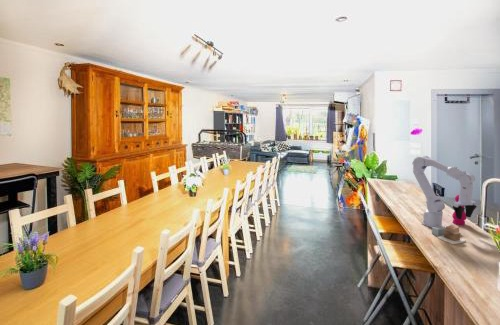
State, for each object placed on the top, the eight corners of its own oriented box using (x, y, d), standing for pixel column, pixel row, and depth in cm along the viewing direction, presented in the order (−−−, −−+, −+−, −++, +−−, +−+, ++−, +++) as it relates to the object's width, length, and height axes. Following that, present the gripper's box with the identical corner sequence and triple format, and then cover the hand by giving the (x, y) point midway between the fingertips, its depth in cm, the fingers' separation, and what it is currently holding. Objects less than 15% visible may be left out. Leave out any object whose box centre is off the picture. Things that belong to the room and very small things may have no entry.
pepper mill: (452, 220, 185) (454, 190, 182) (466, 223, 180) (468, 192, 177) (451, 223, 179) (453, 192, 176) (465, 226, 175) (468, 194, 172)
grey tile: (437, 238, 159) (437, 236, 159) (449, 235, 162) (449, 234, 161) (453, 244, 150) (453, 242, 150) (465, 241, 153) (465, 240, 153)
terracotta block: (453, 235, 162) (453, 228, 161) (445, 233, 165) (446, 226, 165) (458, 233, 165) (459, 226, 164) (451, 231, 168) (451, 224, 168)
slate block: (437, 236, 161) (438, 229, 161) (431, 233, 165) (432, 227, 164) (446, 235, 163) (446, 228, 162) (440, 232, 166) (440, 226, 166)
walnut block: (443, 237, 158) (444, 230, 157) (449, 235, 159) (449, 229, 159) (454, 241, 152) (455, 234, 152) (459, 240, 154) (460, 232, 153)
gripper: (463, 197, 155) (461, 221, 157) (482, 194, 159) (479, 218, 161) (450, 194, 161) (449, 217, 163) (469, 192, 166) (467, 214, 168)
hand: (463, 217), depth 163 cm, fingers open, 7 cm apart
